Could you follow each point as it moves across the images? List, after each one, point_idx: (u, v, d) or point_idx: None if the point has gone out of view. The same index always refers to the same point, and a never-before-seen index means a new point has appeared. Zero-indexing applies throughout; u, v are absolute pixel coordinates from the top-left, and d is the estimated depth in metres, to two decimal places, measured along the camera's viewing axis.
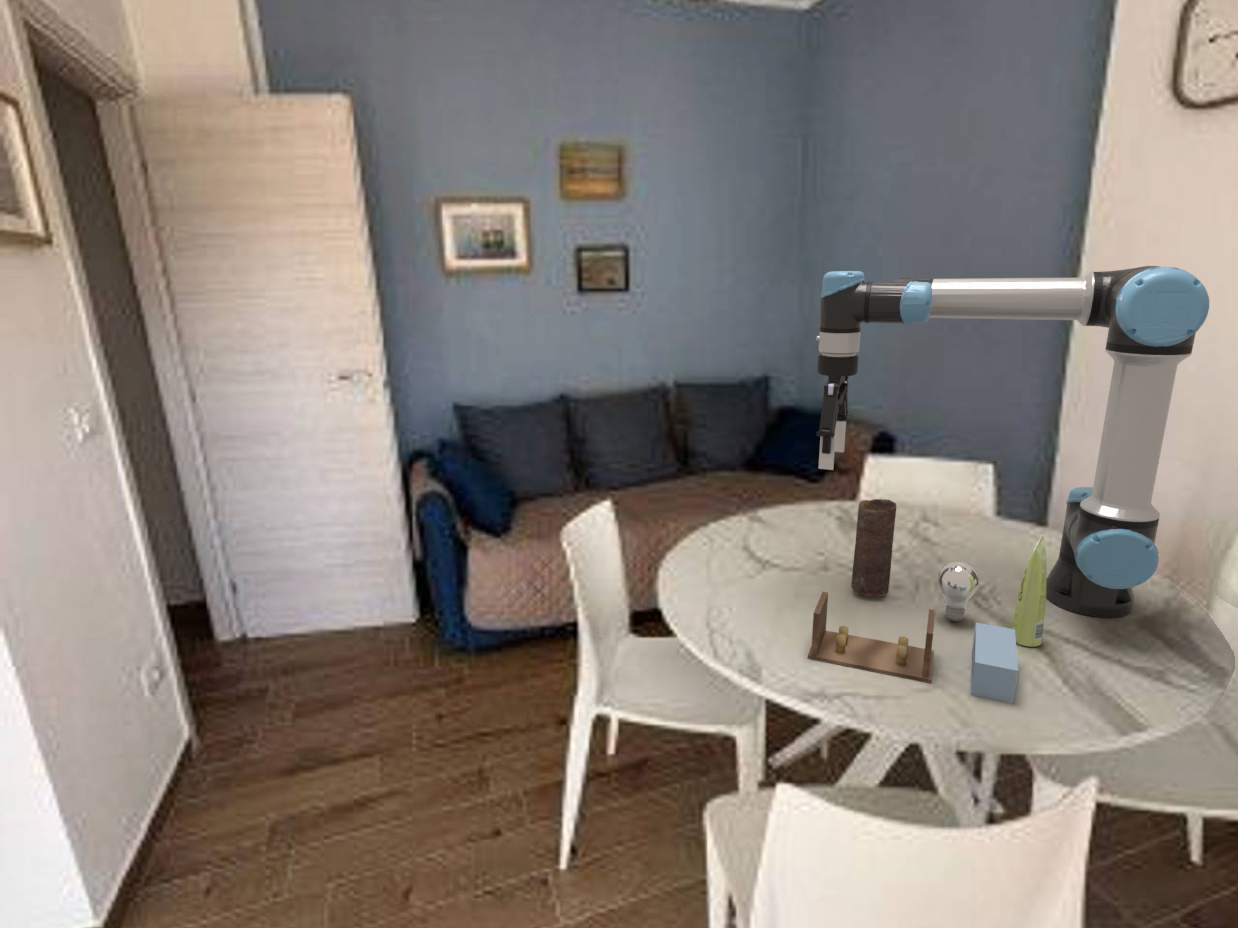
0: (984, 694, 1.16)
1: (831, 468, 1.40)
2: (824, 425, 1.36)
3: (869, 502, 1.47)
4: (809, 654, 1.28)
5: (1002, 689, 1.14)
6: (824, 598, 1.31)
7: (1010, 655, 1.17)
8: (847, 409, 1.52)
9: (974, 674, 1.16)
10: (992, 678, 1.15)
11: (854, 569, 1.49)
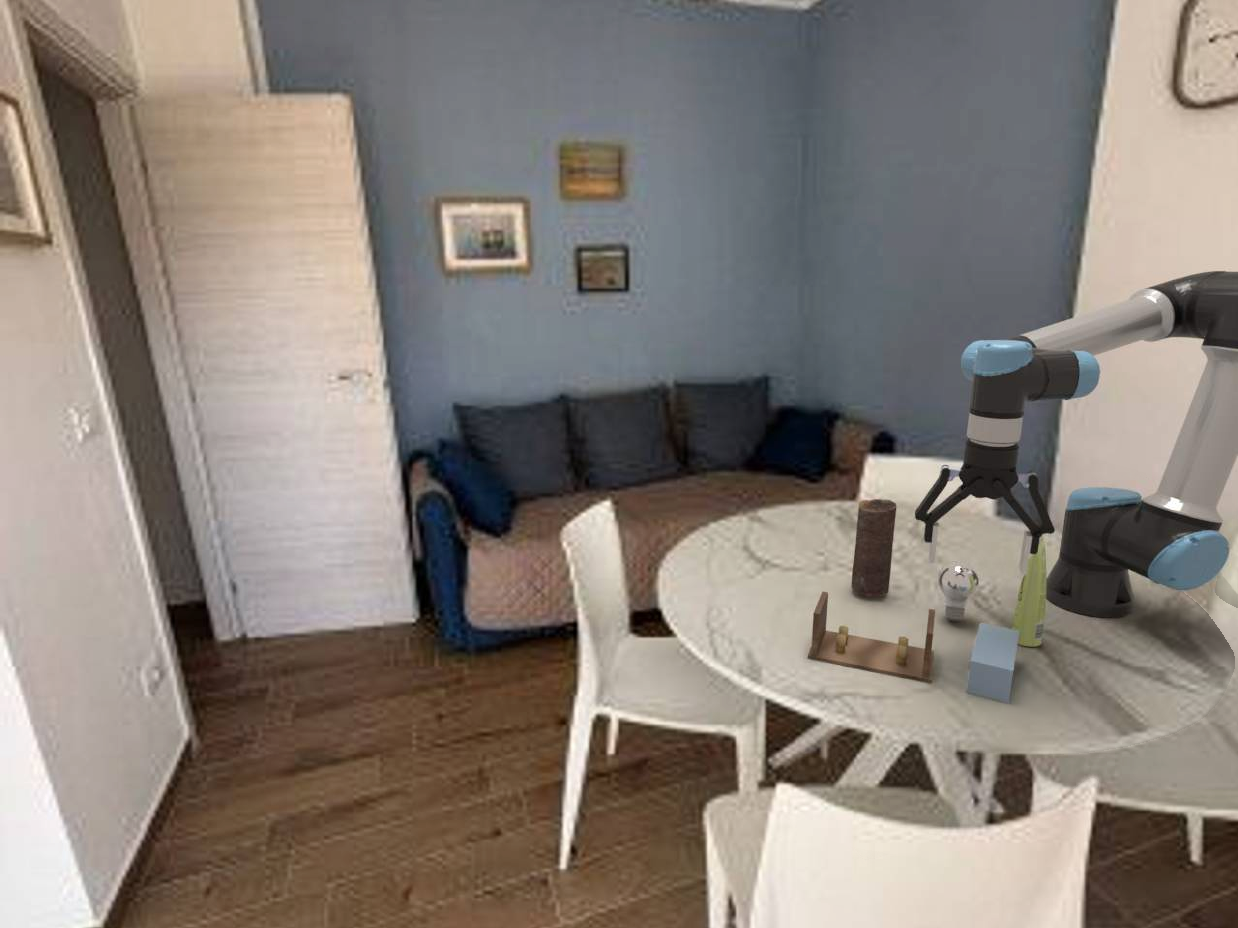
0: (979, 693, 1.16)
1: (929, 560, 1.22)
2: (919, 506, 1.22)
3: (869, 502, 1.47)
4: (809, 654, 1.28)
5: (998, 688, 1.14)
6: (824, 598, 1.31)
7: (1009, 655, 1.17)
8: (1049, 525, 1.14)
9: (970, 672, 1.16)
10: (987, 677, 1.15)
11: (854, 569, 1.49)
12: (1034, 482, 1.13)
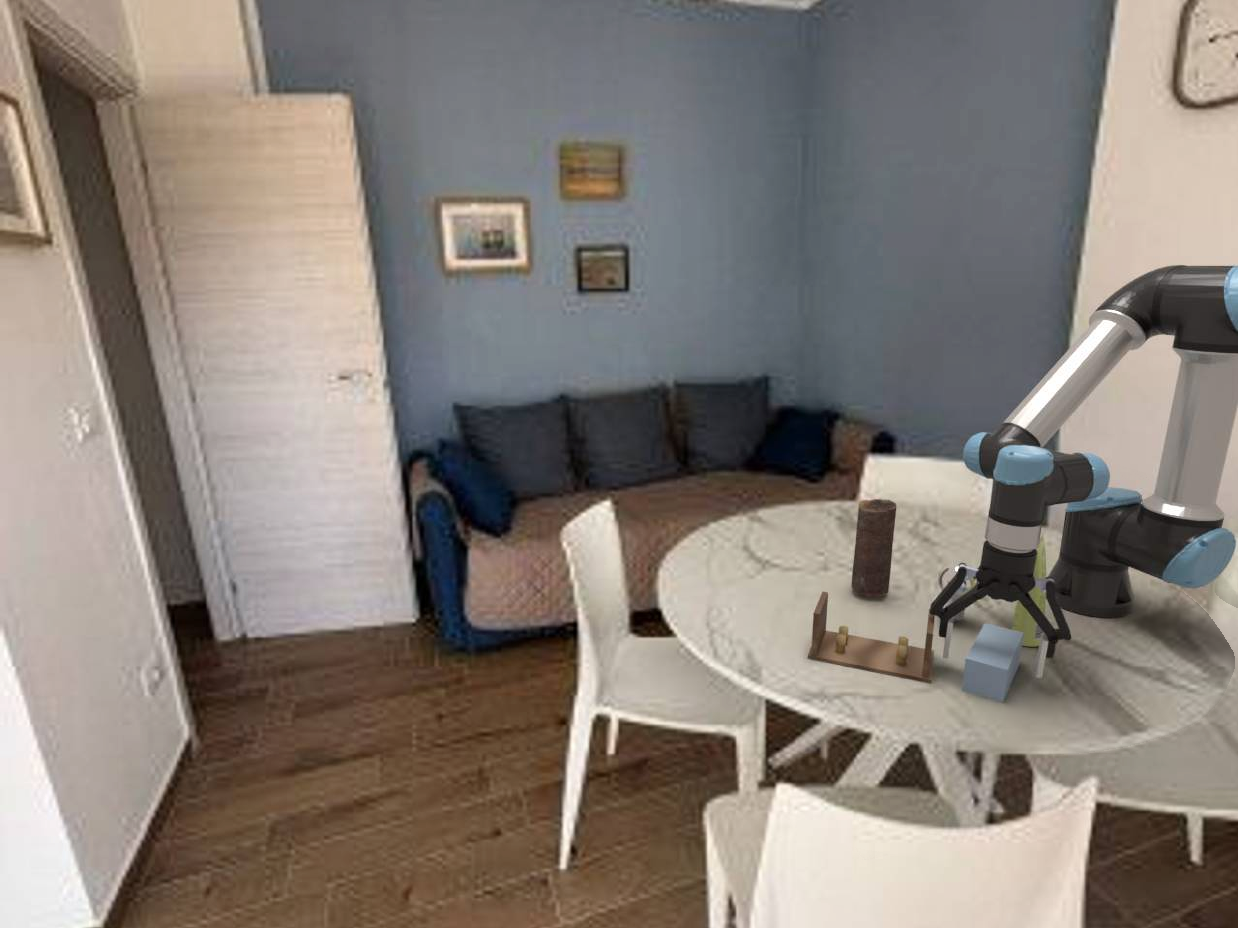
0: (975, 691, 1.17)
1: (943, 655, 1.23)
2: (934, 601, 1.22)
3: (869, 502, 1.47)
4: (809, 654, 1.28)
5: (992, 687, 1.15)
6: (824, 598, 1.31)
7: (1007, 655, 1.17)
8: (1066, 632, 1.14)
9: (965, 670, 1.17)
10: (982, 676, 1.15)
11: (854, 569, 1.49)
12: (1051, 589, 1.13)
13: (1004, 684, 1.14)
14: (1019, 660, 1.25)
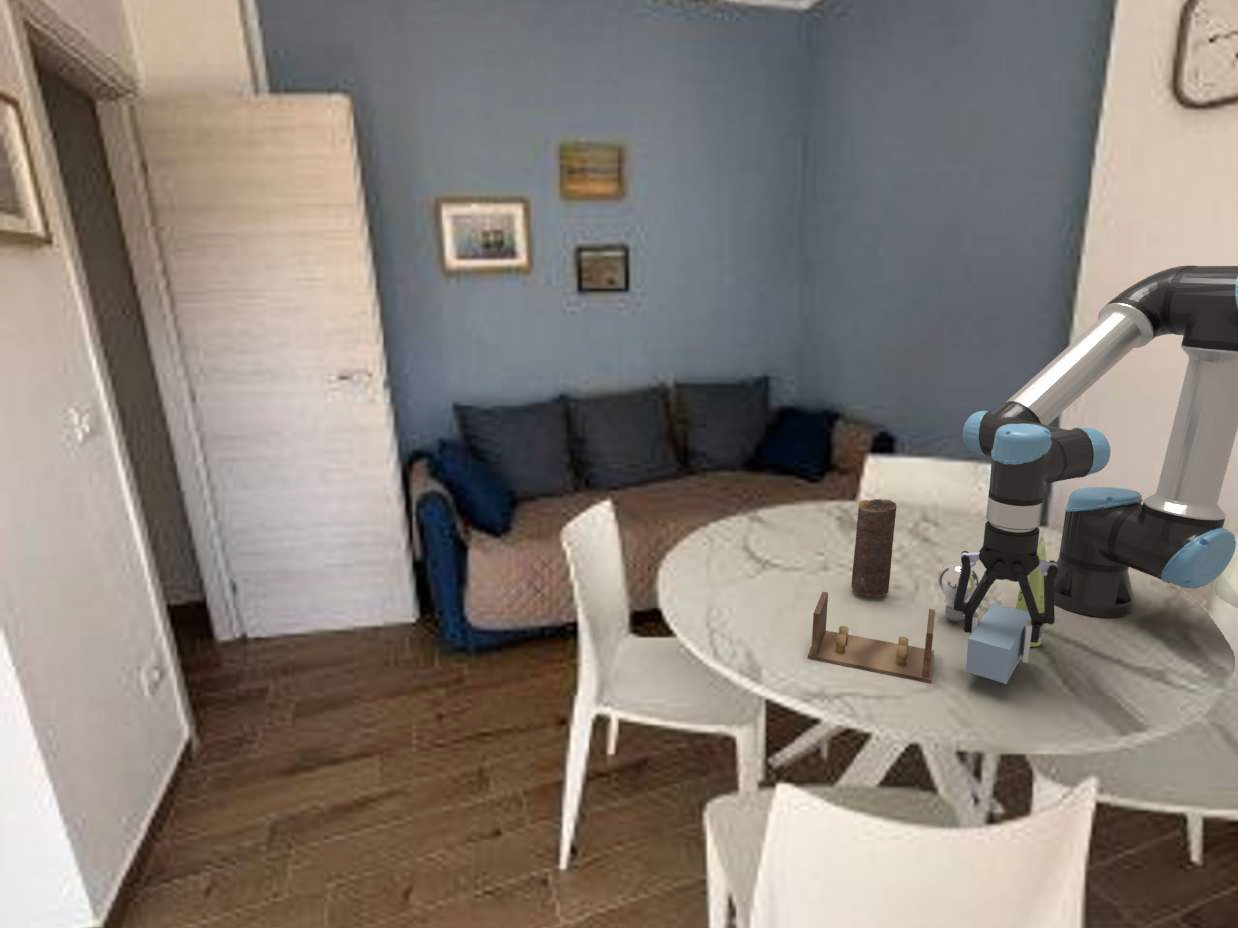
0: (978, 671, 1.16)
1: None
2: (955, 597, 1.21)
3: (869, 502, 1.47)
4: (809, 654, 1.28)
5: (996, 667, 1.14)
6: (824, 598, 1.31)
7: (1011, 635, 1.16)
8: (1050, 616, 1.14)
9: (968, 650, 1.17)
10: (985, 656, 1.15)
11: (854, 569, 1.49)
12: (1053, 573, 1.12)
13: (1007, 664, 1.13)
14: None
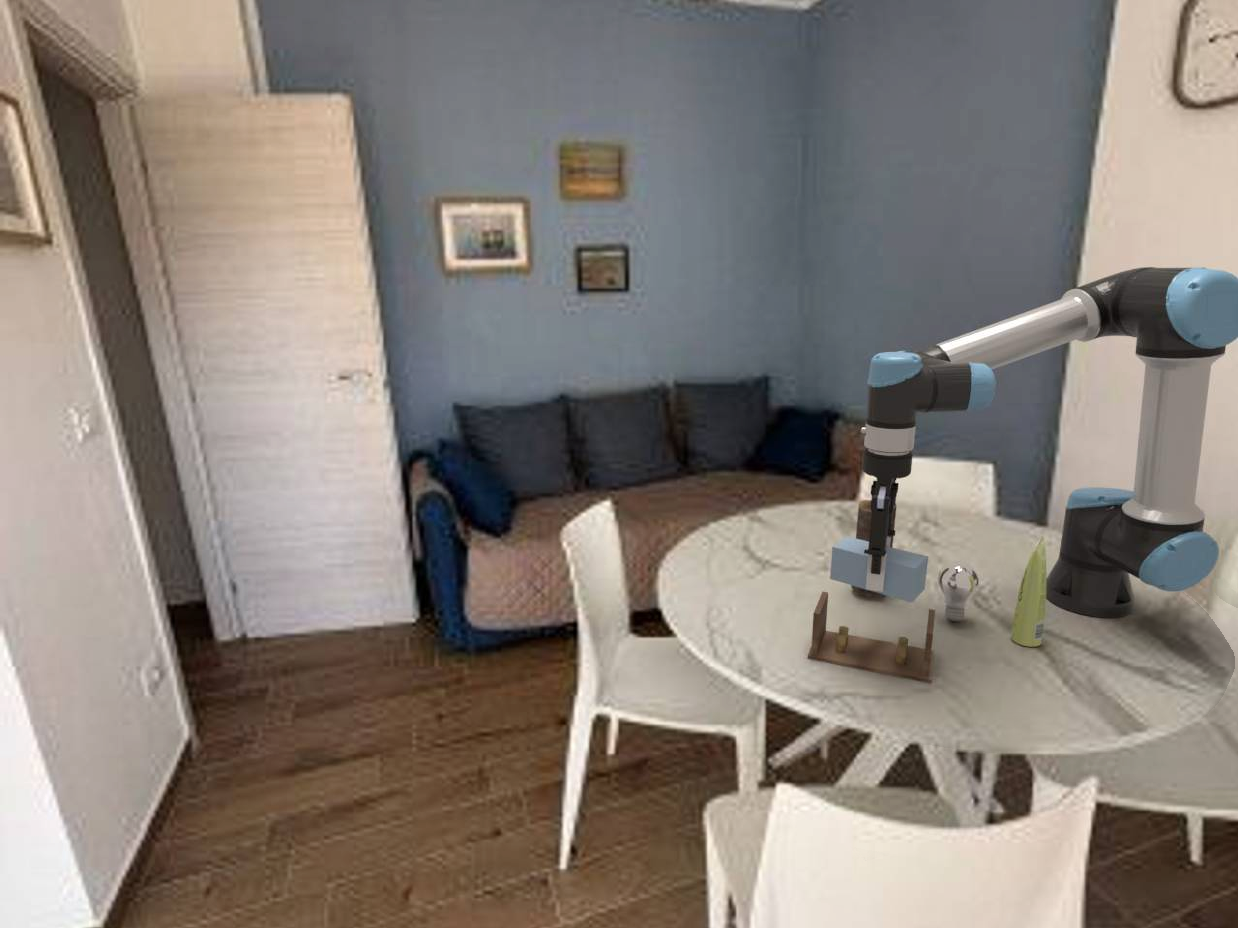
0: (916, 594, 1.19)
1: (881, 590, 1.20)
2: (875, 545, 1.16)
3: (869, 502, 1.47)
4: (809, 654, 1.28)
5: (922, 580, 1.20)
6: (824, 598, 1.31)
7: (899, 551, 1.23)
8: None
9: (914, 580, 1.17)
10: (920, 575, 1.19)
11: None
12: (895, 481, 1.25)
13: (926, 571, 1.21)
14: None
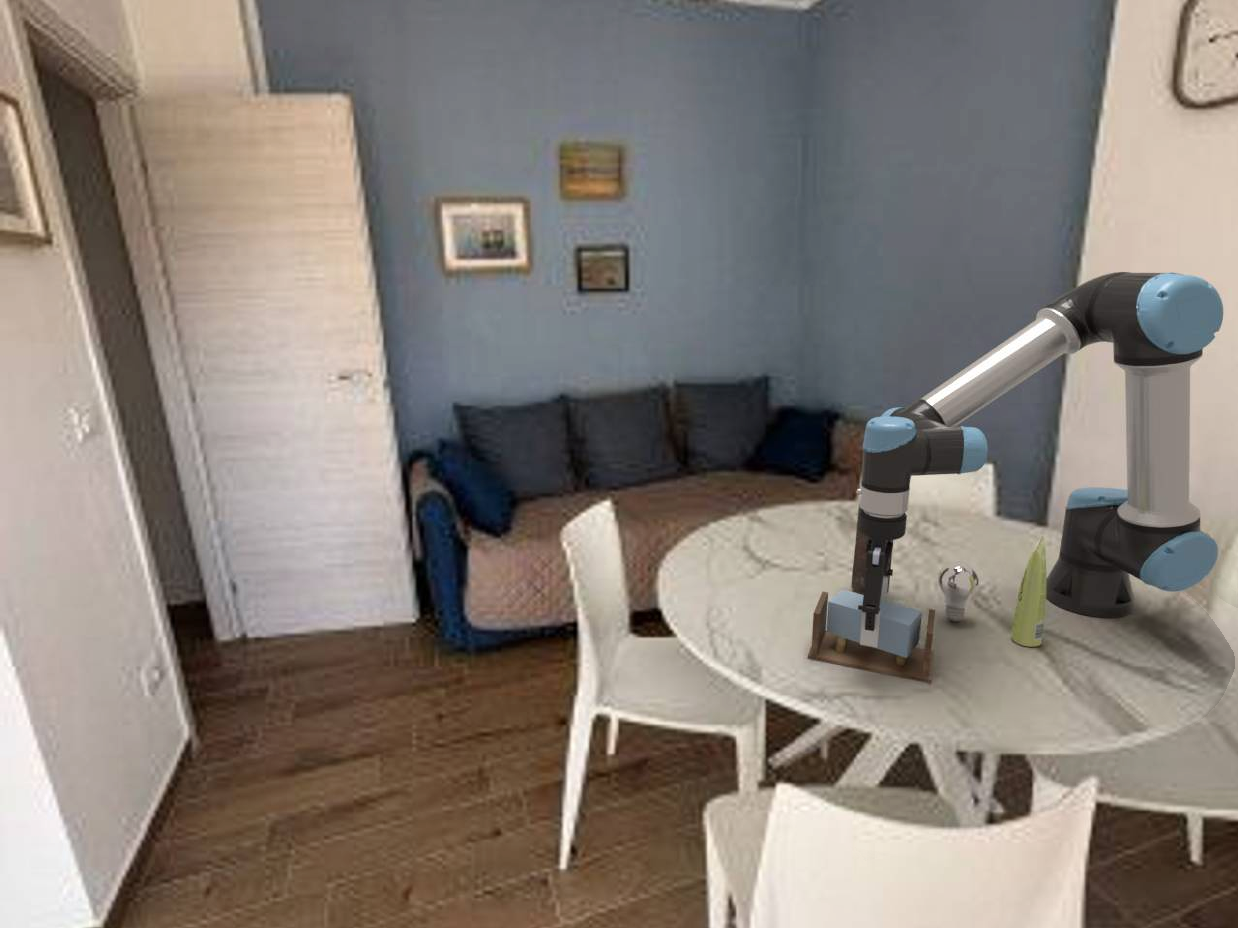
0: (910, 649, 1.22)
1: (875, 645, 1.20)
2: (869, 601, 1.16)
3: None
4: (809, 654, 1.28)
5: (916, 635, 1.23)
6: (824, 598, 1.31)
7: (893, 605, 1.26)
8: (889, 561, 1.32)
9: (908, 636, 1.20)
10: (914, 630, 1.22)
11: (854, 569, 1.49)
12: None
13: (920, 625, 1.24)
14: None
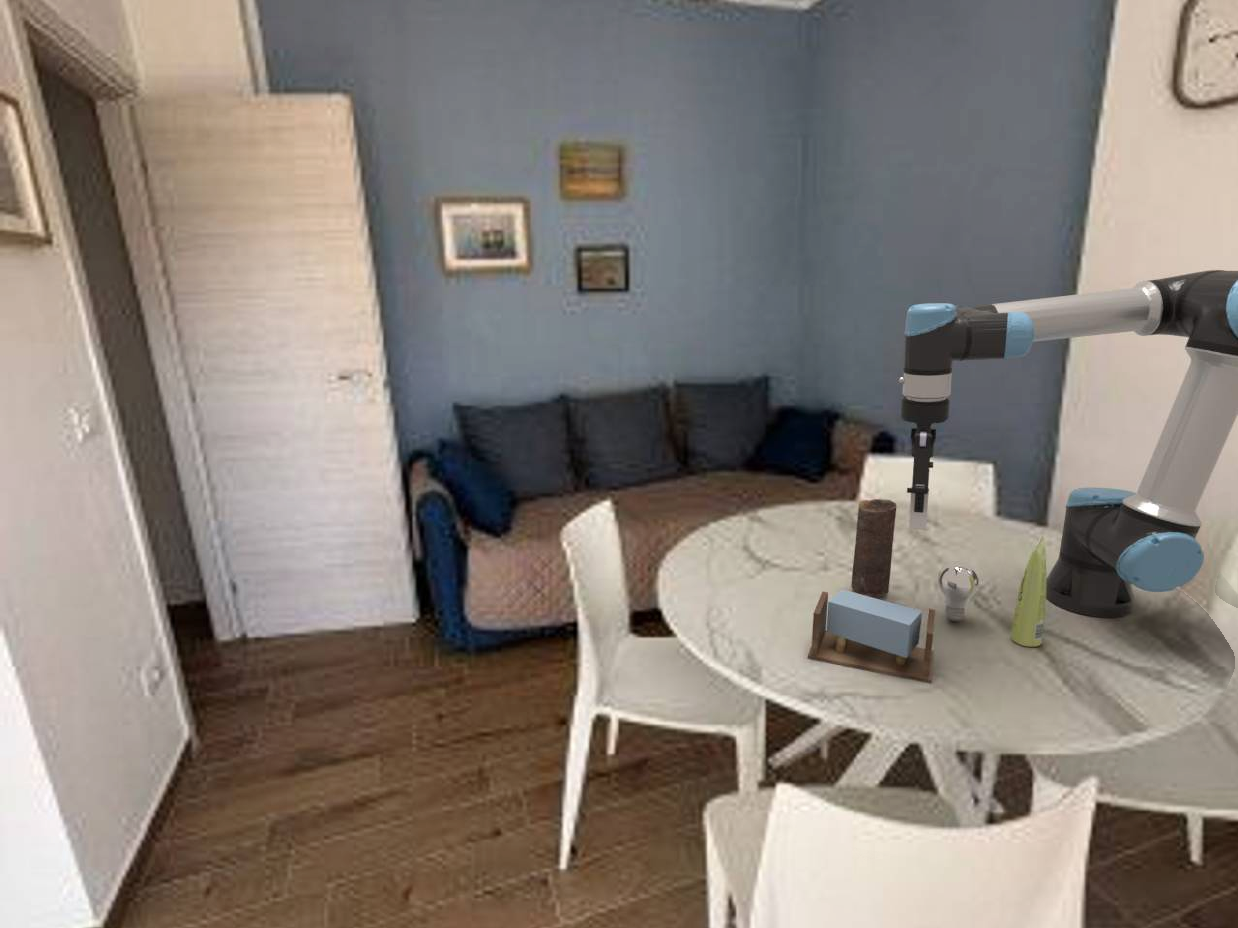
0: (910, 649, 1.22)
1: (924, 528, 1.23)
2: (918, 482, 1.19)
3: (869, 502, 1.47)
4: (809, 654, 1.28)
5: (916, 635, 1.23)
6: (824, 598, 1.31)
7: (893, 605, 1.26)
8: None
9: (908, 636, 1.20)
10: (914, 630, 1.22)
11: (854, 569, 1.49)
12: None
13: (920, 625, 1.24)
14: None
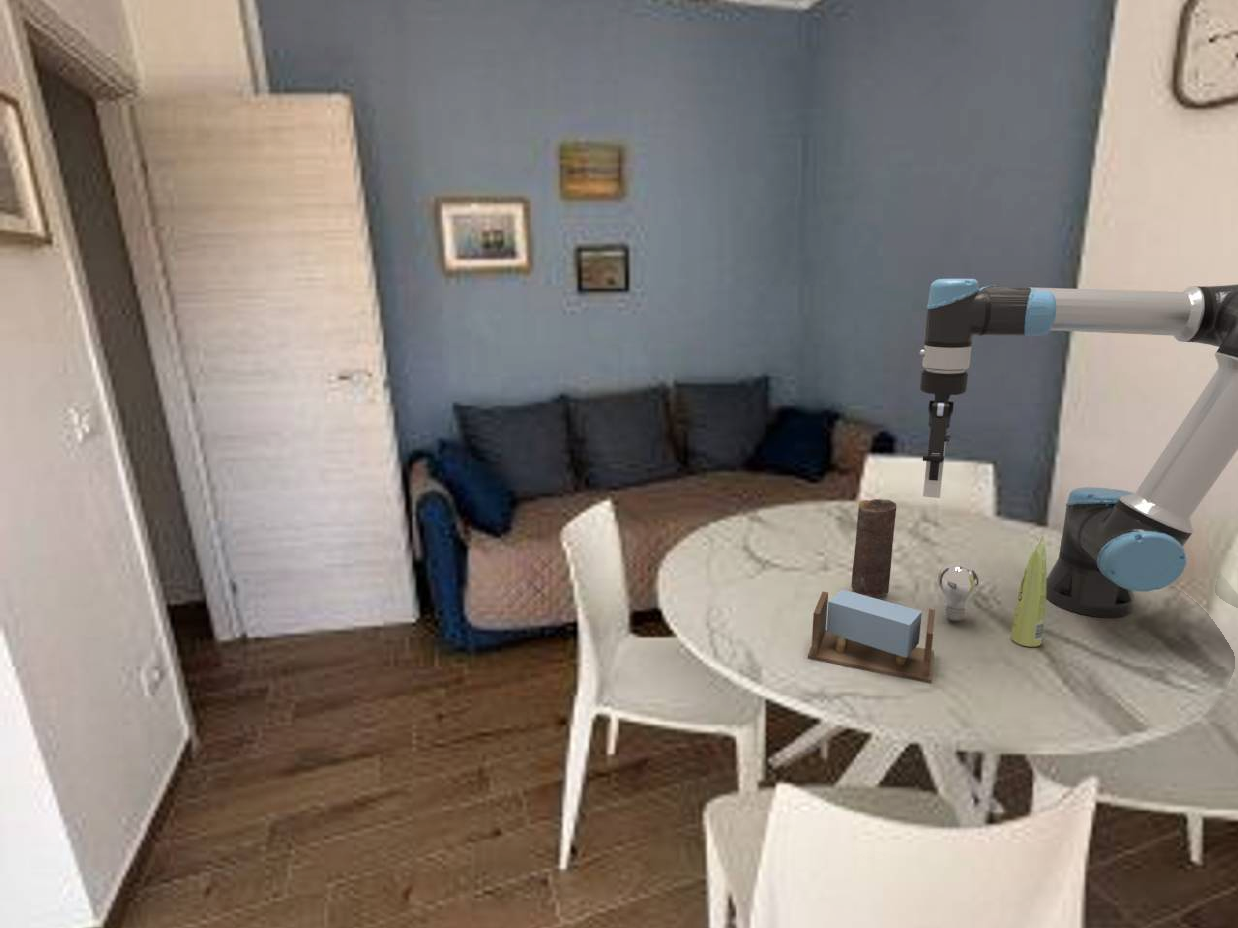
0: (910, 649, 1.22)
1: (938, 496, 1.27)
2: (934, 450, 1.23)
3: (869, 502, 1.47)
4: (809, 654, 1.28)
5: (916, 635, 1.23)
6: (824, 598, 1.31)
7: (893, 605, 1.26)
8: None
9: (908, 636, 1.20)
10: (914, 630, 1.22)
11: (854, 569, 1.49)
12: (949, 396, 1.35)
13: (920, 625, 1.24)
14: None
